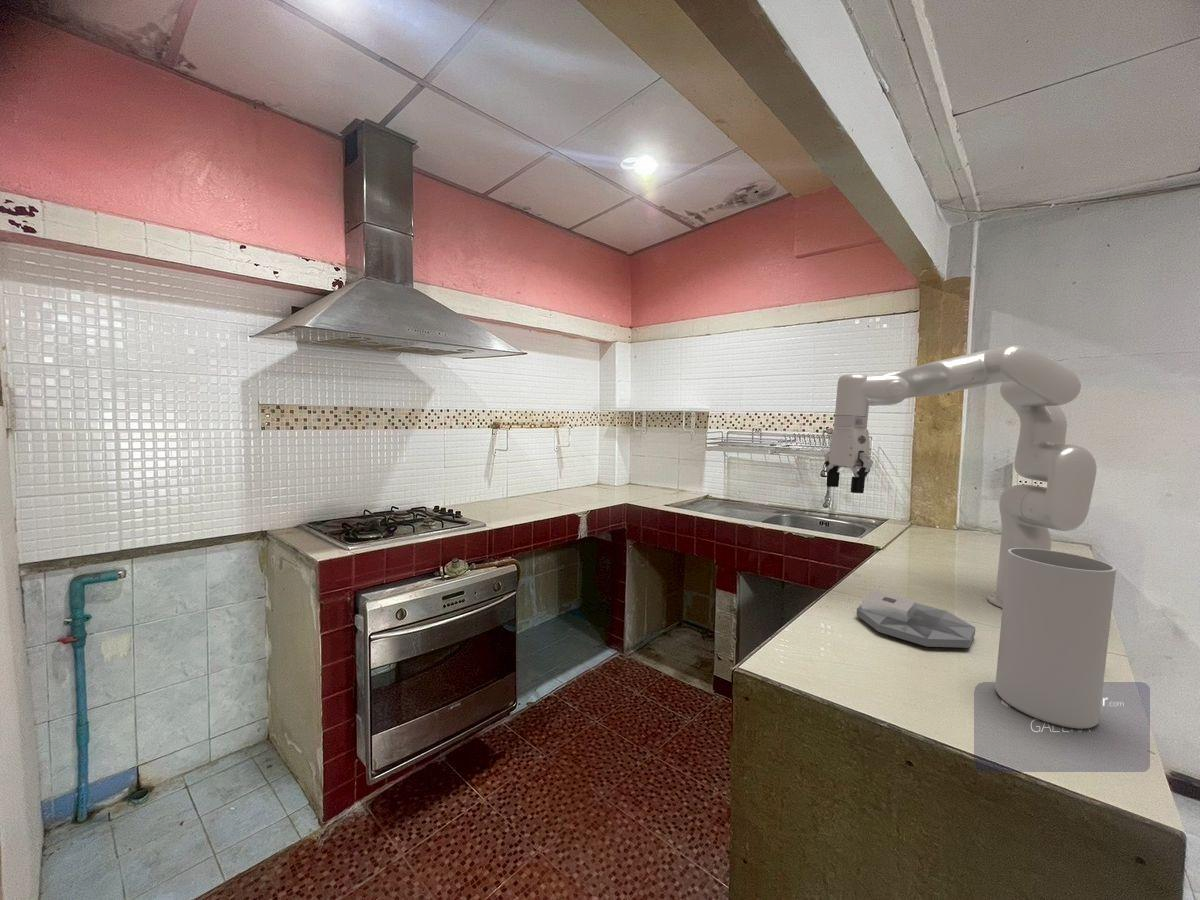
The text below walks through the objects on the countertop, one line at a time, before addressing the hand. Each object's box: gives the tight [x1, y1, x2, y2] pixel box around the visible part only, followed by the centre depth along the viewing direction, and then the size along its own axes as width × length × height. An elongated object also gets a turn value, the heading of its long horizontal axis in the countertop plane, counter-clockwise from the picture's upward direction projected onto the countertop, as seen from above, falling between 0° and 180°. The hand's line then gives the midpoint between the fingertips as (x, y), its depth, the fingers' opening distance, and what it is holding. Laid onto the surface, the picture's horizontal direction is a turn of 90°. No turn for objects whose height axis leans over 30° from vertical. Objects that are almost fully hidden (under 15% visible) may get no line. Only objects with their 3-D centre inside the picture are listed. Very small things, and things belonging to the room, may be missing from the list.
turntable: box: [856, 602, 977, 649], centre depth 106 cm, size 21×21×2 cm
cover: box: [861, 589, 918, 622], centre depth 109 cm, size 9×9×3 cm
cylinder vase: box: [994, 548, 1117, 730], centre depth 77 cm, size 12×12×25 cm
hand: (844, 489), depth 121 cm, fingers open, 9 cm apart
